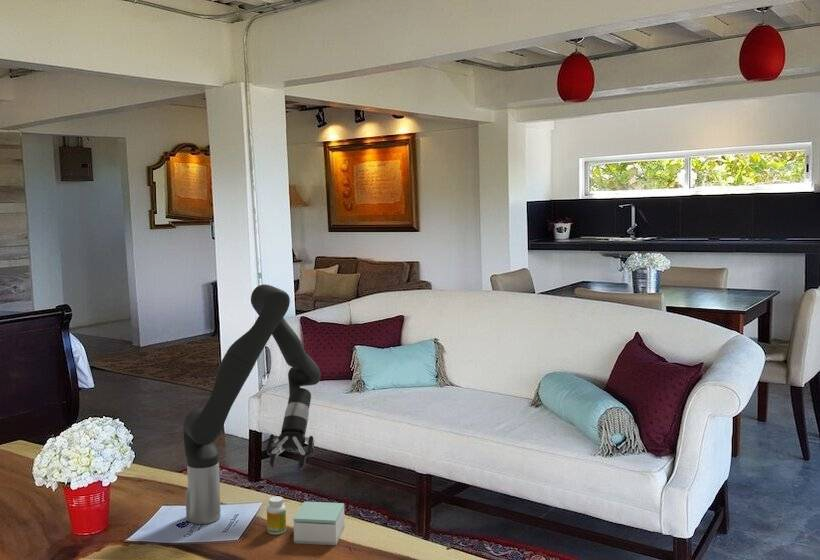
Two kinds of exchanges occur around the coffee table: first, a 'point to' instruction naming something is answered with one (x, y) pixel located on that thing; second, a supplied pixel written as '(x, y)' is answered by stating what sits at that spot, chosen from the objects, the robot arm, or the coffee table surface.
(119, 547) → the coffee table surface
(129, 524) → the coffee table surface
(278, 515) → the supplement bottle
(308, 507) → the lid
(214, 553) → the coffee table surface
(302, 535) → the storage box
